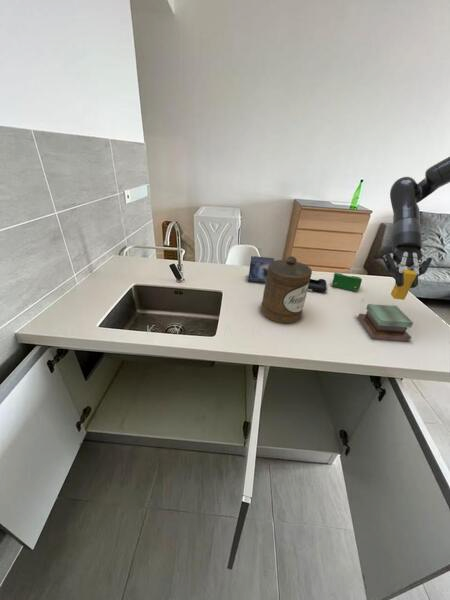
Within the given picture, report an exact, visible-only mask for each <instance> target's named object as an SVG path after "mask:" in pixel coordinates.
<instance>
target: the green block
mask: <svg viewBox="0 0 450 600" xmlns="http://www.w3.org/2000/svg"><path fill="white" fill-rule="evenodd" d="M362 281H363V279H362V278H361V277H360V276H355V275H352V276H351V275H345V274H343V273H339V272H334V274H333V278H332V281H331V284H332V286H333V287H334V288H339V289H344V290H348V291H353V292H358V291H359V290H360V287H361V285H362Z"/></svg>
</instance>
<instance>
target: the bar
mask: <svg viewBox="0 0 450 600" xmlns="http://www.w3.org/2000/svg"><path fill="white" fill-rule="evenodd" d="M402 274H404V285H403V286H401V287H398V286H397V285H396V283H394V286H393V288H392V291H391V292H390V296H392V298H393V299H394V300H401V301H404V300H405V299H406V297H407V295H408V293H409V291H410V290H411V288H410V287H411V285H412V283H413V281H414V280H415V278H416V276H417V274H416V273H415V272H414V271H413V270H408V269H404V270H403V273H402Z"/></svg>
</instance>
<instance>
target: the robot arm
mask: <svg viewBox="0 0 450 600" xmlns="http://www.w3.org/2000/svg"><path fill="white" fill-rule="evenodd" d="M424 176H425V177H424V178H423V179H421V181H419V182H417V181H416V180H415V178H413V177H411V176H403V177H400V178H398V179H396V181H394V182H393V184H392V185H391V188H390V191H389V198H390V204H391V209H392V215H393V216H392V231H391V252H387V253H386V254H384V255H383V256H382V261H383V263H384V265H385V267H386V269H387V272H388V273H389V274H393V275H394V276H395V277H394V280H395V282H394V284H396V285H397V286H398V287H401V286H403V285H404V274H402V273H403V270H405V267H406V268H407V269H406V270H413V271H414V272H415V273H416V274H417V276H416V278H415V280H414V281H413V283H412V285H411V287H410V289H414V288H416V287H417V286H418V285H419V277H420V276H422V275H424V274H426V273H427V271H428V269H429V267H430V265H431V264H432V261H433V258H432V256H431V257H430V256H428V257H426V256H425V255H423V253H422V244H423V243H422V225H421V215H420V214H421V213H420V212H421V211H420V207H419V205H418V204H419V203H420V202H421V201H423V200H424V199H426V198H428V197H429V196H430V195H432V194H433V193H434V192H435V191H437V190H438V189H439V188H442V187H443V186H446V185H447V184H449V183H450V156H448V157H446V158H444V159H443V160H441V161H438V162H436V164H433V165H432V166H430V167H428V168H427V169H426V170H425V173H424Z"/></svg>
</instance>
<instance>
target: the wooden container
mask: <svg viewBox="0 0 450 600" xmlns="http://www.w3.org/2000/svg"><path fill="white" fill-rule="evenodd" d="M312 273H313V271H312V268H311V267H310V266H308V265H307V264H305V263H301V262H299V261H298V260H297V258H296V257H295V256H292V255H291V256H288V257H286V259H278V260H277V259H276V260H274V261H273V262H271V263H270V264H269V266H268V271H267V278H266V283H264V289H263V290H264V291H263V294H262V302H261V309H260V310H261V313H262V315H263V316H264V317H266V318H267V319H269V320H271V321H272V322H276V323H279V324H292V323H295V322H297V321H299V320H300V318H301V316H302V313H303V309H304V306H305V303H306V299H307V295H308V286H309V281H310V279H312Z"/></svg>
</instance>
